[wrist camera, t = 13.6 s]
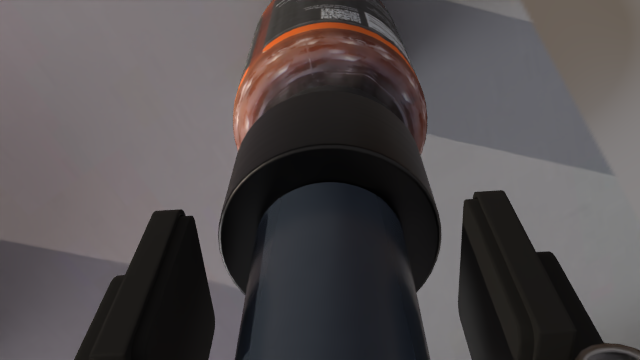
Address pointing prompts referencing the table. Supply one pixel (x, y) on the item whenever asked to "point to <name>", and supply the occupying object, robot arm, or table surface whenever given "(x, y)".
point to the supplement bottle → (328, 61)
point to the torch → (329, 232)
